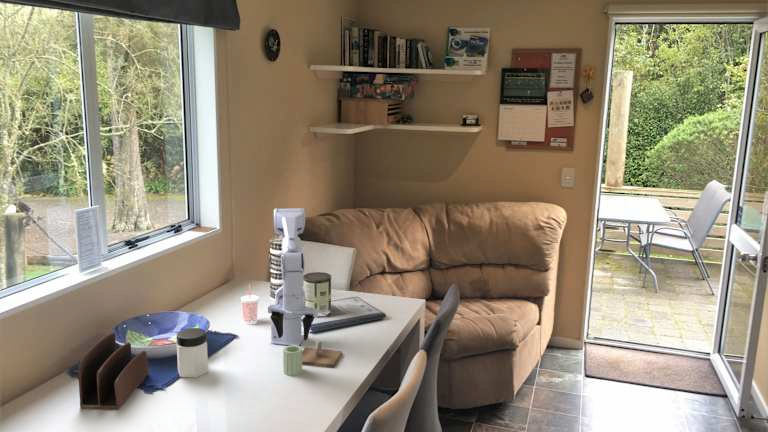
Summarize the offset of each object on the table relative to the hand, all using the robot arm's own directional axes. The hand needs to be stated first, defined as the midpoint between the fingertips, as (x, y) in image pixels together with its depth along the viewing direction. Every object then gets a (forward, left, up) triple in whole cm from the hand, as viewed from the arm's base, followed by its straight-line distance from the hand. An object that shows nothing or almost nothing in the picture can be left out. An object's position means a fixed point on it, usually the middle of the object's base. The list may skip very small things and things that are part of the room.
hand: (293, 337), depth 180 cm
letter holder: (-43, -22, -11) cm, 49 cm away
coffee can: (-7, +48, -11) cm, 50 cm away
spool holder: (+5, +10, -11) cm, 15 cm away
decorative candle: (-25, +59, -11) cm, 65 cm away
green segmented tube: (0, 0, -11) cm, 11 cm away
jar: (-28, -7, -11) cm, 31 cm away
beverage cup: (-27, +33, -11) cm, 44 cm away
